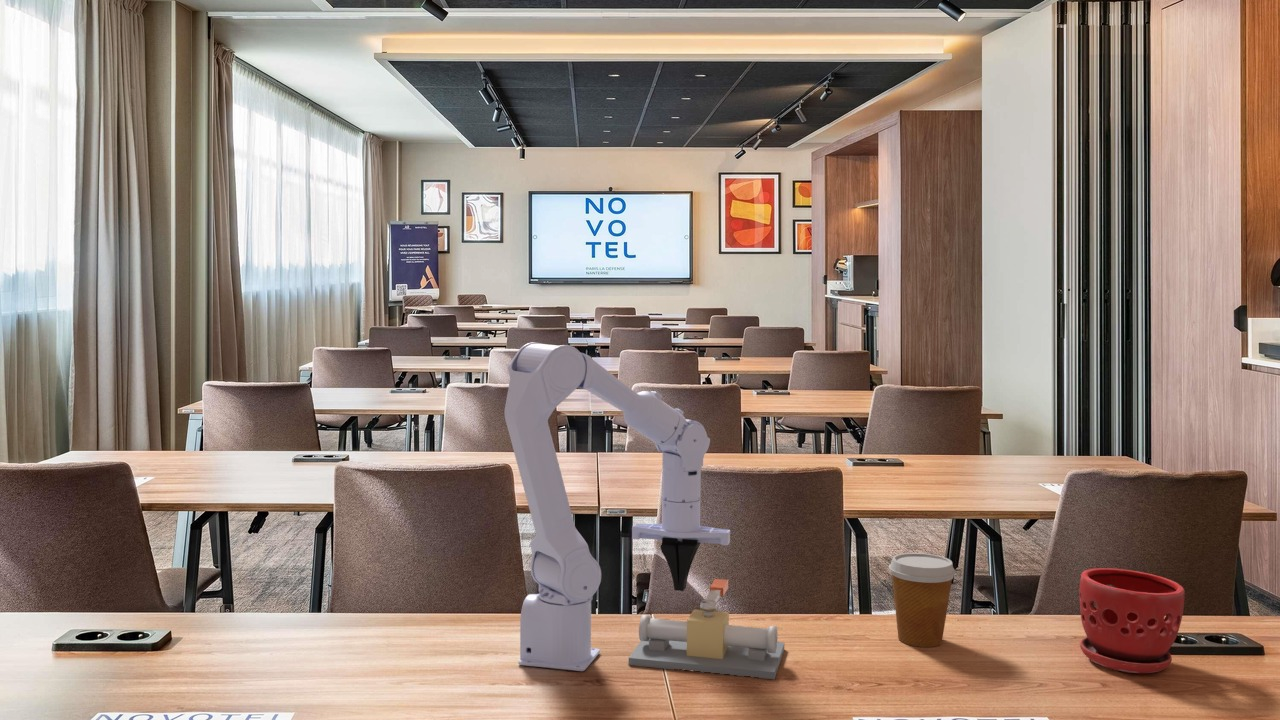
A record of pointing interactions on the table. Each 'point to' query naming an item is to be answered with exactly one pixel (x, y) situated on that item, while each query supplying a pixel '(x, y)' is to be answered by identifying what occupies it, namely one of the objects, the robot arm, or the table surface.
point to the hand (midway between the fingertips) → (680, 588)
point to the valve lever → (714, 595)
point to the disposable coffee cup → (921, 596)
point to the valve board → (708, 664)
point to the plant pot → (1129, 619)
